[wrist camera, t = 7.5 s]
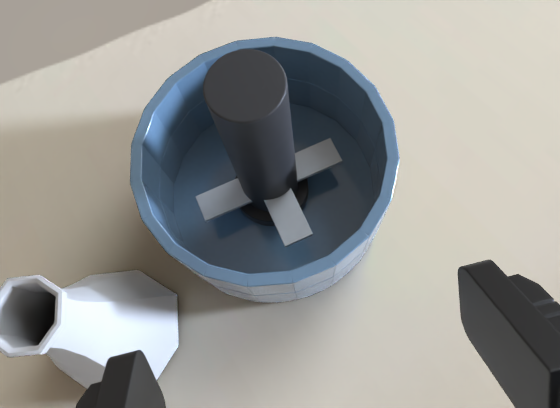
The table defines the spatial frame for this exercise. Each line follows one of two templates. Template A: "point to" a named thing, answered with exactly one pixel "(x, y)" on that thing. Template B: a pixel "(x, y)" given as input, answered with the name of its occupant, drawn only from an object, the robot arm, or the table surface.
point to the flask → (89, 321)
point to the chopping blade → (260, 145)
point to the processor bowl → (219, 170)
